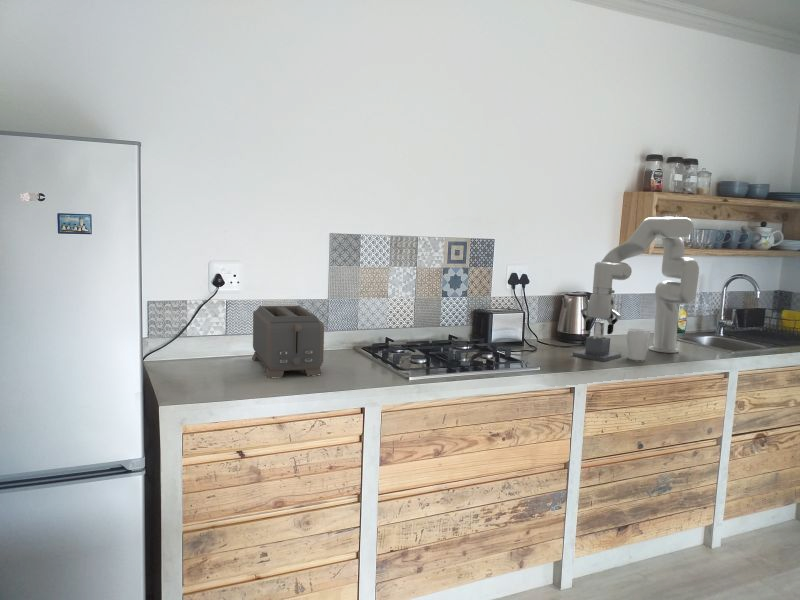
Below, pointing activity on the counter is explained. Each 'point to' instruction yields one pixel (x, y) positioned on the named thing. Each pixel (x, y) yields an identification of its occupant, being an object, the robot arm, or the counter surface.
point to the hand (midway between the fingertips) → (598, 332)
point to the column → (599, 330)
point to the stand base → (597, 350)
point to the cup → (637, 343)
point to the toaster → (287, 340)
